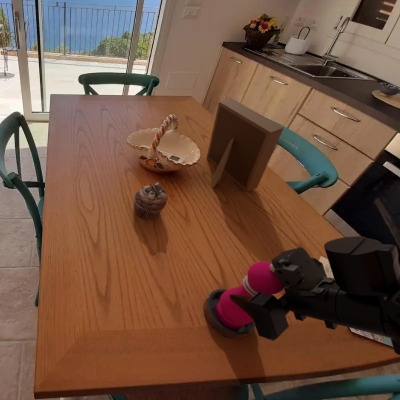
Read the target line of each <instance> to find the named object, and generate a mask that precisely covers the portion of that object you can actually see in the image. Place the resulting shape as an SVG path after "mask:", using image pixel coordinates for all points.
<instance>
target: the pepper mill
mask: <svg viewBox="0 0 400 400" xmlns="http://www.w3.org/2000/svg"><path fill="white" fill-rule="evenodd" d="M274 270H275V268H274V267H273V265H272V262H270V261H263V260H261V261H257V262H254V263H253V264H251V265H250V266H249V268H248V270H247V272H246V275H245V277H244V278H243V279H242V284H241V285H239V286H236V287H235V286H234V287H231V288H229V289H226V291H225V292H224V293H223V294H222V295H221V297H220V301H219V303H218V304H217V305H216V308H215V311H216V315H217V317H218V319H219V320H220V321H221V322H222V323H223V324H224V325H226V326H227V327H230V328H233V329H239V328H241V327H243V326H244V325H245V324H248V323H251V322H253V321H254V320H253V319H252V318H251V317H250V316H249V315H248V314H247V313H246V312H245V311H243V310H242V309H241V308H240V307H239V306H238V305H236V304H235V303H234V302H233V301H232V300H231V299H230V297H229V295H230V294H237V295H244V296H251V297H254V296H255V295H256V294H257V293H258V292H261V294H270V295H277V294H279V293H281V292H282V291H283V290H284V287H285V285H283V284H282V283H281V282H280V280H279V279H278V277H277V276H276V275H275V273H274Z"/></svg>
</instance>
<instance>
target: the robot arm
mask: <svg viewBox="0 0 400 400" xmlns="http://www.w3.org/2000/svg"><path fill="white" fill-rule="evenodd" d="M323 248H324V251H325V254H326V258H327V260H328V264H329V267H330V271H331V273H332V276H333V277H329V276H327V273H326V269H325V267H324V263H323V262H321V261H320V260H318V259H317V258H315V257H311V255H310V254H309V253H308V252H307V250H306V249H305V248H303V247H301V246H300V247H295V248H291V249H288V250H284V251H281V252H280V253H279V254H278V255H276V256H275V257H273V258H272V259H271V263H272V265H273V267H274V268H275V270H274V273H275V275H276V276H277V277H278V279H279V280H280V282H281V283H282V284H283V285H285V287H284V289H283V290H284V293H283V294H282V295H281V296H280V297H279V298H278V297H276V296H275V294H272V295H270V294H261V292H258V293H257V294H256V295H255V296H254V297H251V296H244V295H237V294H230V295H229V297H230V299H231V300H232V301H233V302H234V303H235V304H236V305H238V306H239V307H240V308H241V309H242V310H243V311H245V312H246V313H247V314H248V315H249V316H250V317H251V318H252V319H253V320H254V323H255V330H256V332H257V334H258V337H262V338H264V339H267V340H270V341H275V340H277V339H278V338H279V337H280V336H281V335H282V334H283V333H285V331H286V330H287V329H289V327H290V325H289V322H288V319H287V315H288V314H289V313H290V312H291V313H293V316H294V319H295V320H296V321H299V322H304V321H305V320H306V319H307V318H310V319H314V320H318V321H322V322H324V325H325V328H326V329H330V330H332V331H333V330H336V329H337V328H338V327H339V326H341V327H346V328H350V329H353V330H357V331H362V332H365V333H369V334H373V335H377V336H382V337H384V338H388V339H390V342H391V346H392V348H393V351H394V353H395V354H396V355H397V356H400V261H399V251H398V247H397V245H394V244H389V243H388V244H386V243H385V244H383V243H382V242H381V241H379V240H377V239H374V238H369V237H368V238H367V237H366V236H361V235H360V236H345V237H339V238H335V239H331V240H328V241H327V242H325V243H324V245H323Z"/></svg>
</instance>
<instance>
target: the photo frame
mask: <svg viewBox="0 0 400 400" xmlns="http://www.w3.org/2000/svg"><path fill="white" fill-rule="evenodd" d="M284 129H285V127H284V126H282V125H280V124H278V123H277V122H275V121H273V120H271V119H270V118H268V117H266V116H264V115H262V114H261V113H258V112H257V111H255V110H254V109H252V108H250V107H248V106H246V105H245V104H243V103H241V102H239V101H237V100H235V99H233V98H232V97H228V98H225V99H223V100H220V101H218V104H217V109H216V114H215V119H214V122H213V127H212V131H211V136H210V139H209V145H208V150H207V154H206V159H207V160H208V161H209V162H210V163H212V164H213V166H215V167H216V169H215V171H214V173H213V175H212V177H211V179H210V183H211V187H212V189H214V188H215V187H216V185H218V183H219V182H220V180H221V179H222V176H223V173H224V175H226V176H227V177H228V178H229V179H230V180H231V181H233V182H234V183H235V184H236V185H237V186H238V187H240V188H241V189H242V190H244V191H245V192H246V193H248V192H250V191H253V190H255V189H258V186H259V184H260V182H261V180H262V178H263V176H264V173H265V171H266V169H267V167H268V164H269V162H270V160H271V157H272V156H273V153H274V151H275V149H276V146H277V144H278V141H279V139H280V137H281V135H282V133H283V131H284Z"/></svg>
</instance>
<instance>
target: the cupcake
mask: <svg viewBox="0 0 400 400" xmlns="http://www.w3.org/2000/svg"><path fill="white" fill-rule="evenodd" d="M168 200H169V197H168V195H167V192H166V190H165V188H163V187H162V185H161V183H160V182H156V183H155V185H154V184H151V183H150V184H148V185H144V186H142V187H141V188H140V189H138V190H137V192H136V193H134V196H133V209H134V210H133V211H134V214H135V215H137V216H138V218H140V219H143V220H149V221H150V220H153V219H156V218H158V217H159V215H160V214H161V213H162V212H163V210H164V208H165V207H166V205H167V201H168Z"/></svg>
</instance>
